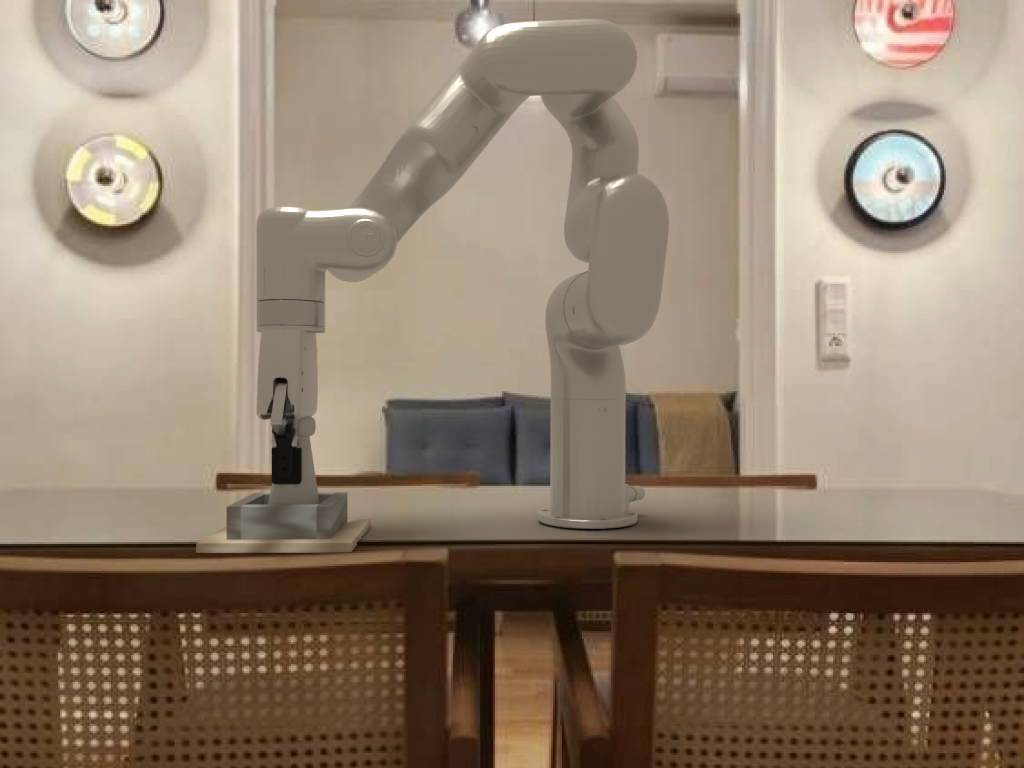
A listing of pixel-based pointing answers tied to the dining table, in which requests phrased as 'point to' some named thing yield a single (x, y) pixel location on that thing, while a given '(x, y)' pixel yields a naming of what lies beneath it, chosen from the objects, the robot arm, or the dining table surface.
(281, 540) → the holder
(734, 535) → the dining table surface
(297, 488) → the salt shaker
